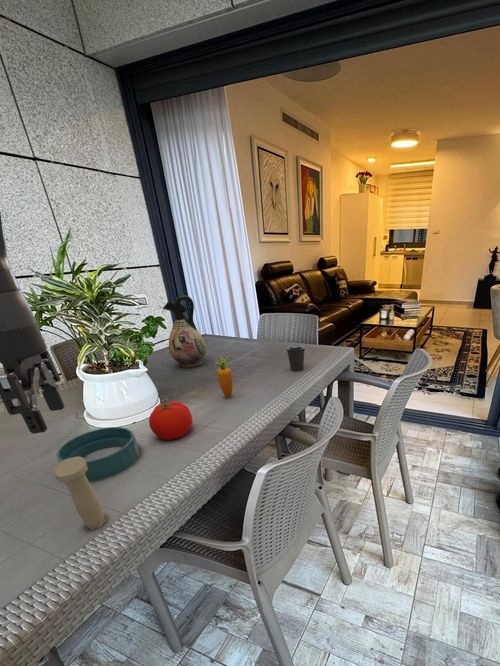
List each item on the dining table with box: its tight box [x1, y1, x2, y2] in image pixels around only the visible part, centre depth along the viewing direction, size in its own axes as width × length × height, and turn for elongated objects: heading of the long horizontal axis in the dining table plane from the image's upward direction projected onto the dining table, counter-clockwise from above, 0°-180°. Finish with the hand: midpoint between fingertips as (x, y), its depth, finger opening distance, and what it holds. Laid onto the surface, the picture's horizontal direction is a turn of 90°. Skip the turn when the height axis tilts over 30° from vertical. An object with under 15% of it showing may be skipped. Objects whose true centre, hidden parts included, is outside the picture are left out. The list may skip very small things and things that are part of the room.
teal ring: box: [56, 426, 141, 482], centre depth 91 cm, size 17×17×6 cm
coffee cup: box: [285, 344, 306, 372], centre depth 147 cm, size 8×8×10 cm
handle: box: [53, 457, 106, 531], centre depth 68 cm, size 5×6×15 cm
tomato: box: [148, 399, 193, 441], centre depth 101 cm, size 12×12×10 cm
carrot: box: [214, 356, 233, 399], centre depth 122 cm, size 5×5×15 cm
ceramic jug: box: [162, 294, 207, 368], centre depth 153 cm, size 17×15×30 cm
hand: (49, 420), depth 60 cm, fingers open, 8 cm apart
